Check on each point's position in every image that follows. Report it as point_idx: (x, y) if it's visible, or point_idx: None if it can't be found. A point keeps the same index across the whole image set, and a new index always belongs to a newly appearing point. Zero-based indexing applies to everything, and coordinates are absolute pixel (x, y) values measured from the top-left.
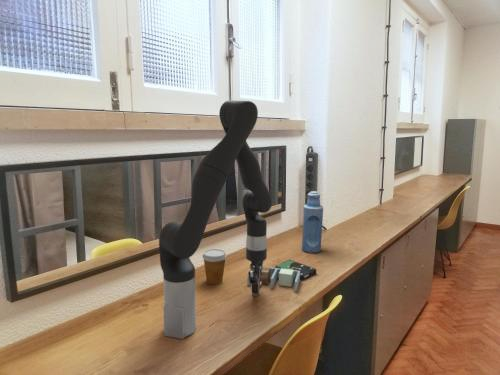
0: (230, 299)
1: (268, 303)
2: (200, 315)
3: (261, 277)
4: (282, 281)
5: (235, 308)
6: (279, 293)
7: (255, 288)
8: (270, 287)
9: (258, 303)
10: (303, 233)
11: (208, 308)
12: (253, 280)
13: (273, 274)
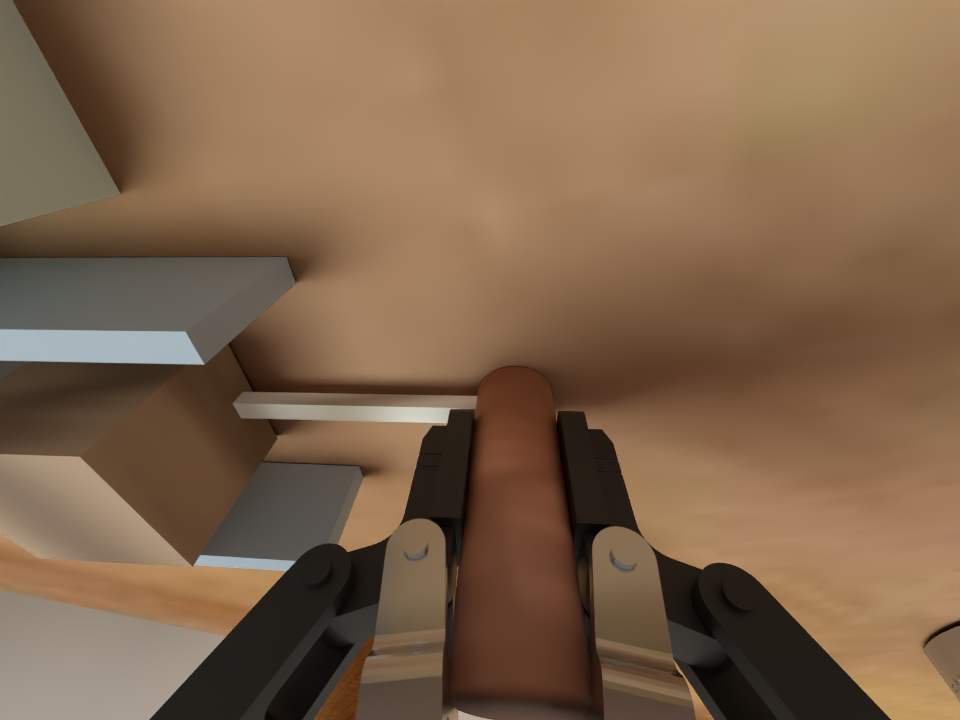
0: (643, 527)
1: (726, 219)
2: (873, 602)
3: (208, 447)
4: (6, 136)
5: (810, 484)
6: (363, 114)
7: (623, 483)
8: (289, 288)
9: (720, 336)
10: None
11: (781, 589)
12: (673, 645)
13: (13, 350)
